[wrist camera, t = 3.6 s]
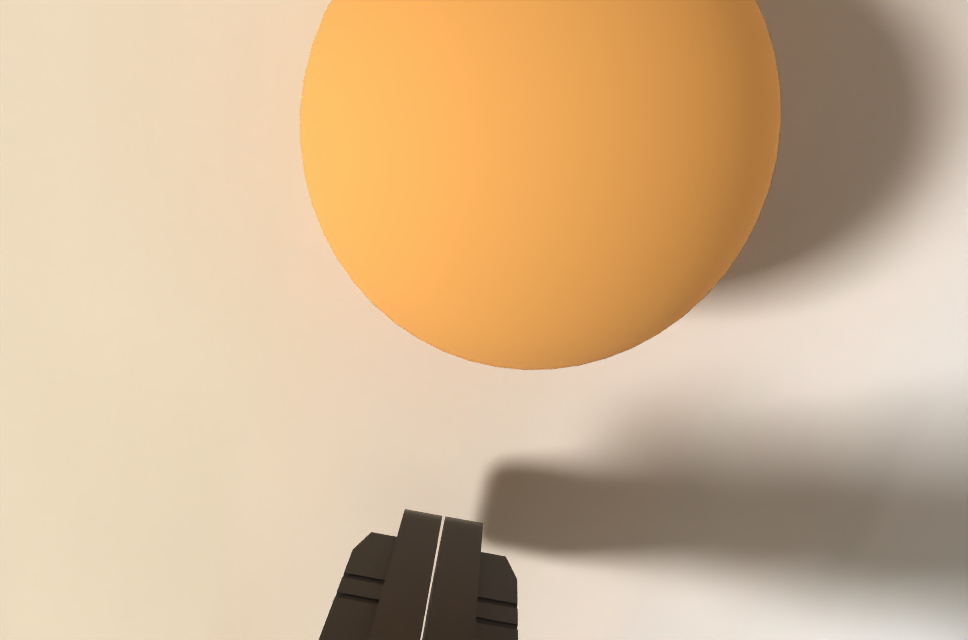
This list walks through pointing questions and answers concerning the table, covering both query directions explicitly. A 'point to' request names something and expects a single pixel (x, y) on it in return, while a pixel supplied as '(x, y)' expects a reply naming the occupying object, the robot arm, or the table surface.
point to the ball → (539, 164)
